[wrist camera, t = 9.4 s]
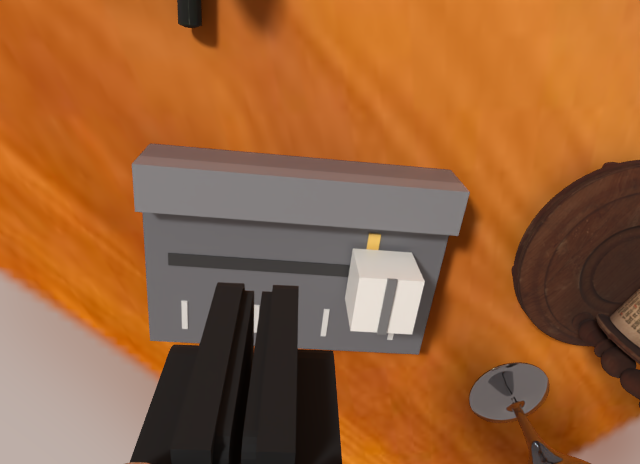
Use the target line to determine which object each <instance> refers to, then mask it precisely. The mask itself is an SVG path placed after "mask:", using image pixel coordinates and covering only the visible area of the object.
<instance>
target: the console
mask: <svg viewBox="0 0 640 464" xmlns="http://www.w3.org/2000/svg"><path fill="white" fill-rule="evenodd" d="M132 173H133V188H134V203H135V212H143V227H144V244H145V261H146V278H147V295H148V311H149V328H150V341H167V342H186V343H200V342H201V338H202V334H203V331H204V327H205V324H206V320H207V317H208V313H209V310H210V306H211V303H212V299H213V296H214V292H215V288H216V285H217V283H218V282H224V283H244V284H245V290H247V291H254V346H255V341H256V333H257V326H258V318H259V311H260V303H261V296H262V291H269V292H272V288H273V285H289V286H299V298H298V348H303V349H323V350H342V351H362V352H381V353H401V354H419V351H420V347H421V344H422V340H423V336H424V332H425V328H426V324H427V320H428V316H429V312H430V308H431V304H432V300H433V296H434V292H435V288H436V284H437V280H438V277H439V273H440V269H441V265H442V261H443V257H444V253H445V249H446V245H447V241H448V237H449V235H453V236H458V235H459V231H460V227H461V224H462V220H463V216H464V212H465V208H466V205H467V201H468V197H469V193H470V192H469V191H468V190H467V188H466V187H465V186H464V185H463V184H462V183H461V181H460V180H459V179H458V178H457V177H456V176H455V174H454V173H453V172H452V171H451V170H445V169H434V168H422V167H411V166H400V165H388V164H377V163H365V162H354V161H343V160H331V159H320V158H309V157H297V156H286V155H274V154H263V153H252V152H240V151H229V150H218V149H206V148H195V147H184V146H172V145H161V144H149V145H148V146H147V148H146V149H145V150H144V151H143V152H142V153H141V154H140V155H139V157H138V158H137V159H136V160H135V161H134V162H133V163H132ZM353 248H355V249H369V250H383V251H397V252H411V253H412V254H413V256H414V259H415V261H416V263H417V265H418V268H419V270H420V272H421V274H422V277H423V279H424V281H425V283H424V287H423V291H422V295H421V300H420V304H419V308H418V312H417V316H416V320H415V324H414V329H413V333H412V334H394V333H387V334H386V335H378V334H377V333H376V332H358V331H350V326H349V320H348V314H347V308H346V302H345V295H346V289H347V282H348V276H349V269H350V263H351V257H352V250H353Z"/></svg>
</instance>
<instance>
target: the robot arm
mask: <svg viewBox="0 0 640 464" xmlns="http://www.w3.org/2000/svg"><path fill="white" fill-rule="evenodd" d="M298 298H299V286H289V285H273V288H272V292H269V291H262V296H261V303H260V311H259V318H258V326H257V333H256V341H255V348H254V291H247V290H245V284H244V283H224V282H218V283H217V285H216V288H215V292H214V296H213V299H212V303H211V306H210V310H209V313H208V317H207V320H206V324H205V327H204V331H203V334H202V338H201V342H200V345H199V346H196V345H173V346H172V347H171V349H170V351H169V354H168V357H167V359H166V362H165V365H164V368H163V371H162V373H161V376H160V379H159V382H158V385H157V387H156V390H155V393H154V396H153V399H152V402H151V404H150V407H149V410H148V413H147V415H146V418H145V421H144V424H143V427H142V429H141V432H140V435H139V438H138V441H137V443H136V446H135V449H134V452H133V455H132V458H131V460H130V463H126V464H342V456H341V443H340V430H339V417H338V404H337V390H336V377H335V364H334V354H333V351H326V350H300V349H298Z"/></svg>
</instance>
